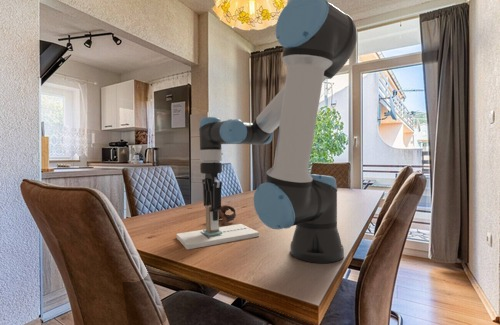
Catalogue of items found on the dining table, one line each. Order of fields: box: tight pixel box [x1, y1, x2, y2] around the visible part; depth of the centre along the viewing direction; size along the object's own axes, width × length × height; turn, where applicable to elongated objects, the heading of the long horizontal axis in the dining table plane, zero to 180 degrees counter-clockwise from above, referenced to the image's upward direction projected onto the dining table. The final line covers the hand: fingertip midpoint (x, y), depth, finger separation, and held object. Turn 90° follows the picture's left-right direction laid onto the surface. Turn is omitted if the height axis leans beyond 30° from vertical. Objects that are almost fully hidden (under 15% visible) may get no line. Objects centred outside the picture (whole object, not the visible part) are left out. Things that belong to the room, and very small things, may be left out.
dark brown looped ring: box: [219, 204, 237, 226], centre depth 117 cm, size 12×10×8 cm
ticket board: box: [176, 223, 260, 250], centre depth 95 cm, size 14×26×2 cm, turn 119°
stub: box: [202, 205, 222, 236], centre depth 94 cm, size 6×5×10 cm
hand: (212, 227), depth 94 cm, fingers closed on stub, 3 cm apart
